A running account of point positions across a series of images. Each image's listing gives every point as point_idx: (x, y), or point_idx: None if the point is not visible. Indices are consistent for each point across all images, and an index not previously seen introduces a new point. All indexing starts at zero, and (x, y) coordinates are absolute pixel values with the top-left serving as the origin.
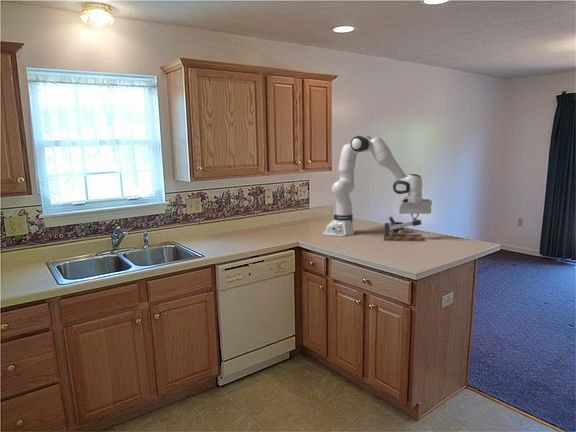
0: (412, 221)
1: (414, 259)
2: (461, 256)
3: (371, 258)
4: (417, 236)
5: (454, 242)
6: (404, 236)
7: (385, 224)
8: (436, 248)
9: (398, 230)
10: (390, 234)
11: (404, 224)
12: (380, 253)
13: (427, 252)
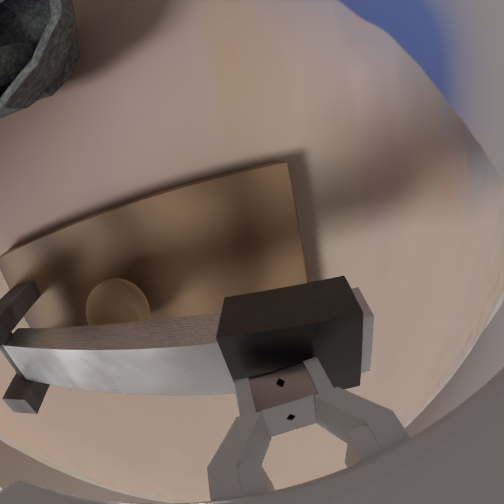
0: (235, 371)
1: (288, 483)
2: (410, 418)
3: (180, 500)
4: (267, 270)
5: (454, 260)
6: (158, 307)
7: (6, 399)
8: (365, 394)
9: (42, 92)
10: (34, 267)
11: (141, 390)
12: (177, 483)
13: (326, 441)
